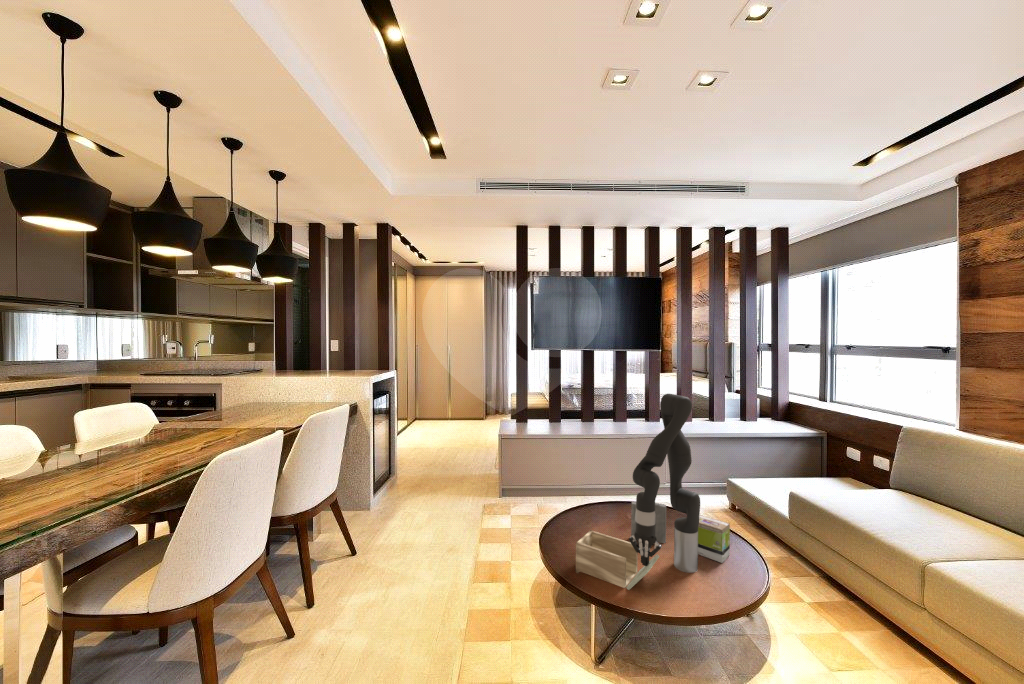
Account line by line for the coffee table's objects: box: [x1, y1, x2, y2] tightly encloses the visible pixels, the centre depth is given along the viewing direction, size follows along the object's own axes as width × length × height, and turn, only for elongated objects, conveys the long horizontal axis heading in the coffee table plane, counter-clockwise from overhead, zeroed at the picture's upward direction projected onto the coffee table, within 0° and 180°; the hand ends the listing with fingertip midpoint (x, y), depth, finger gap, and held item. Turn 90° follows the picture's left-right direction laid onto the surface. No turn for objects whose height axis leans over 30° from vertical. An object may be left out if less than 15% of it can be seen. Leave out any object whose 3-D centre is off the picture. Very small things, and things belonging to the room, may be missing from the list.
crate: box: [575, 529, 639, 589], centre depth 171 cm, size 14×21×12 cm, turn 54°
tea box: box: [698, 514, 731, 564], centre depth 187 cm, size 15×10×15 cm, turn 44°
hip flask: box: [630, 501, 667, 544], centre depth 200 cm, size 16×4×20 cm, turn 78°
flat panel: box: [625, 553, 660, 591], centre depth 162 cm, size 14×1×12 cm
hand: (644, 564), depth 161 cm, fingers closed
